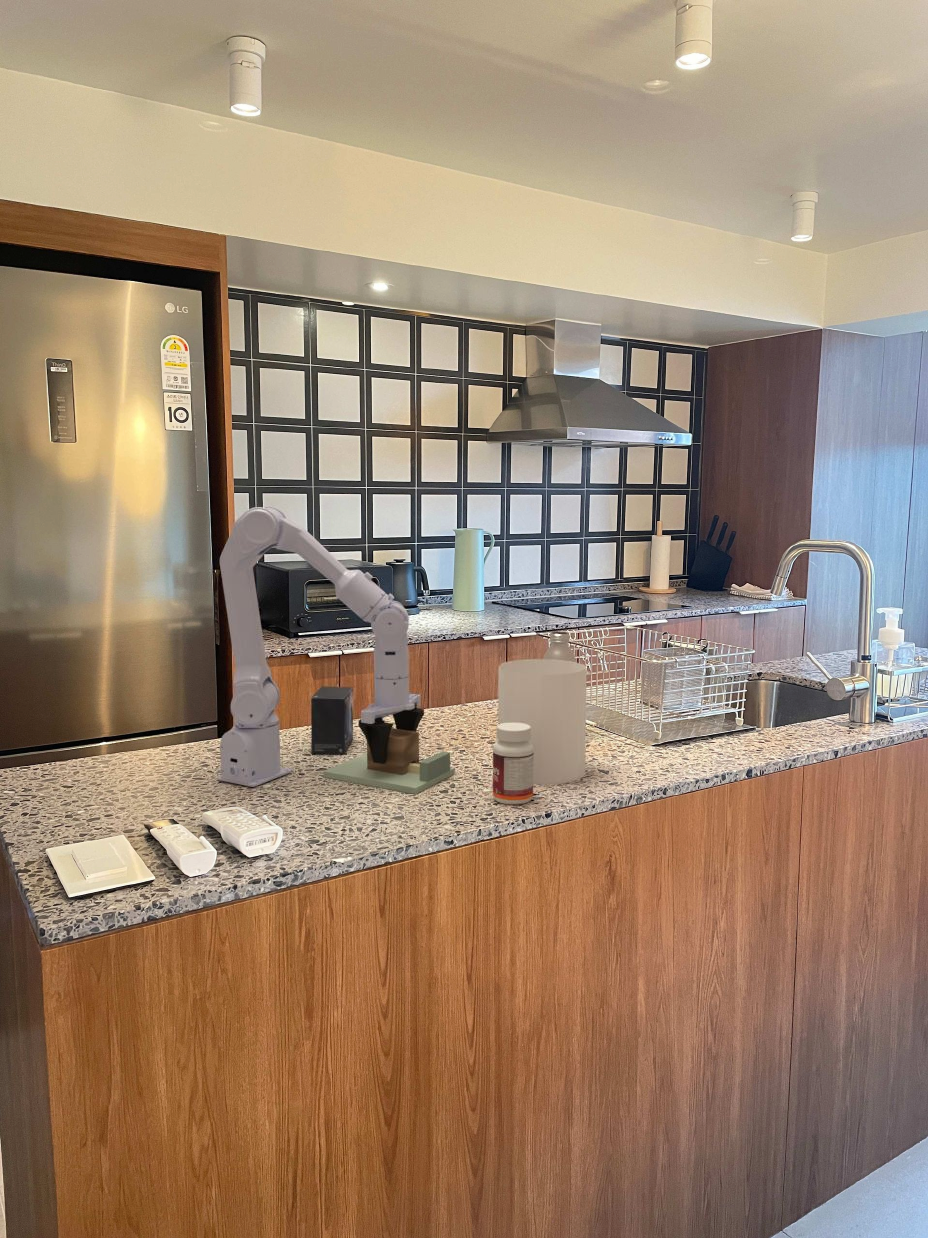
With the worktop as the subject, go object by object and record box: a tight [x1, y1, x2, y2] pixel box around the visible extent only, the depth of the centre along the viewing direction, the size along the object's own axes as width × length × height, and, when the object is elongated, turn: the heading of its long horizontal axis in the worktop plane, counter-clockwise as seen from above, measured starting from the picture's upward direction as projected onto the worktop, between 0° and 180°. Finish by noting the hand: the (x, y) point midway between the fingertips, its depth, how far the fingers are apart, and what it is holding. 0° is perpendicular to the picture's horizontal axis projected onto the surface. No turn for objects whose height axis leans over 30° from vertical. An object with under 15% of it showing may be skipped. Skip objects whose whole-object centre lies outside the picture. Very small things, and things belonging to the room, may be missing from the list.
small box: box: [310, 685, 354, 755], centre depth 162 cm, size 11×6×10 cm, turn 179°
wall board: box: [322, 751, 456, 795], centre depth 145 cm, size 12×18×4 cm, turn 61°
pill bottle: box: [492, 723, 534, 805], centre depth 133 cm, size 6×6×11 cm
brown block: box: [366, 727, 420, 775], centre depth 146 cm, size 5×7×6 cm
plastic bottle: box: [542, 631, 577, 663], centre depth 170 cm, size 6×7×20 cm
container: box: [497, 658, 588, 786], centre depth 147 cm, size 14×14×18 cm
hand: (392, 756), depth 146 cm, fingers open, 7 cm apart
